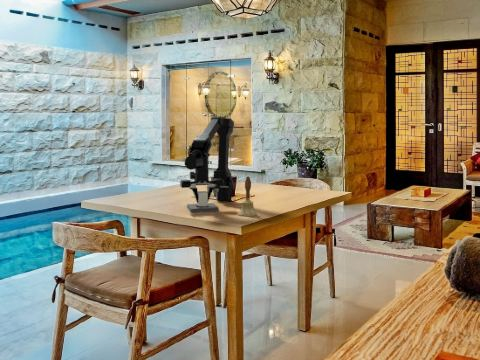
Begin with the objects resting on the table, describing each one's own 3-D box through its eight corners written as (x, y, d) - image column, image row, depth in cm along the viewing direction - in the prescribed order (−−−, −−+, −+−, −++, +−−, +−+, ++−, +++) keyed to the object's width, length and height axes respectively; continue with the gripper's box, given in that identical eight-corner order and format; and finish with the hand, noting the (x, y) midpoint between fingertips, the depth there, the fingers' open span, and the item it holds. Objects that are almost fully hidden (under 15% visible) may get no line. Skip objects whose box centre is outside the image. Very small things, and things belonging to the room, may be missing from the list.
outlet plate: (213, 206, 236) (213, 202, 236) (218, 211, 225) (218, 207, 224) (186, 207, 233) (186, 203, 233) (191, 212, 222) (191, 208, 221)
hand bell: (256, 212, 221) (256, 175, 219) (258, 216, 212) (258, 177, 210) (237, 212, 220) (237, 175, 218) (237, 216, 212) (237, 178, 210)
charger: (206, 204, 231) (205, 190, 230) (207, 205, 227) (207, 192, 226) (197, 204, 230) (197, 191, 229) (198, 206, 226) (198, 192, 225)
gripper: (218, 164, 237) (219, 198, 239) (178, 166, 232) (178, 200, 234) (224, 167, 226) (224, 202, 228) (181, 168, 221) (182, 204, 223)
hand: (202, 202), depth 228 cm, fingers closed on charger, 4 cm apart
